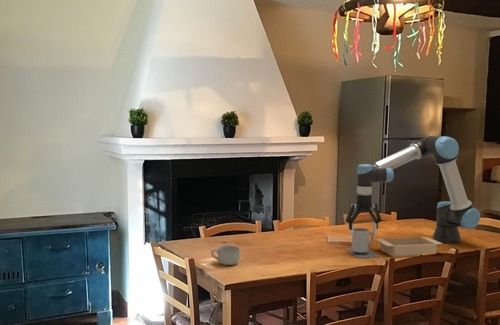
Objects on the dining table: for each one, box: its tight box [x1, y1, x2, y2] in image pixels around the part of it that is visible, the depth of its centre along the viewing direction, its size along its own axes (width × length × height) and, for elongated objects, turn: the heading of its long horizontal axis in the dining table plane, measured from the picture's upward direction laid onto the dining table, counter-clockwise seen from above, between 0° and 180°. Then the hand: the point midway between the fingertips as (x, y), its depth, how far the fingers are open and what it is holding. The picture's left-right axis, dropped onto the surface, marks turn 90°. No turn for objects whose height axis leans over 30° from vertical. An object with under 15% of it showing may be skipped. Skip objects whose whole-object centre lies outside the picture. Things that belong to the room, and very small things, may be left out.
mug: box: [351, 227, 374, 252], centre depth 248 cm, size 12×8×11 cm
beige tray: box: [374, 236, 444, 258], centre depth 252 cm, size 31×17×6 cm, turn 100°
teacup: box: [210, 244, 241, 266], centre depth 228 cm, size 14×11×8 cm
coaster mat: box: [346, 249, 380, 259], centre depth 248 cm, size 12×15×1 cm
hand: (363, 235), depth 247 cm, fingers closed on mug, 12 cm apart
